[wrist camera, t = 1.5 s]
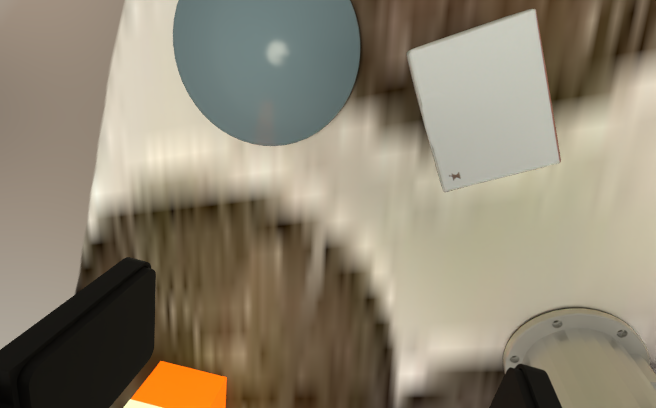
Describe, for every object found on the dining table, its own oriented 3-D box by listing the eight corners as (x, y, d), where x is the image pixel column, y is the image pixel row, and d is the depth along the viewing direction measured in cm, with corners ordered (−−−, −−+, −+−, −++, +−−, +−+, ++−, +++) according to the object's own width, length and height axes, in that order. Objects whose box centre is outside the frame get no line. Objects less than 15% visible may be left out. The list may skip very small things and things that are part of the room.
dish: (369, -58, 30) (368, -62, 29) (353, 150, 36) (351, 154, 35) (172, -61, 32) (164, -65, 31) (187, 135, 38) (181, 137, 37)
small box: (506, 123, 33) (564, 166, 21) (429, 145, 35) (441, 196, 23) (486, 21, 31) (538, 4, 19) (404, 50, 32) (404, 51, 20)
